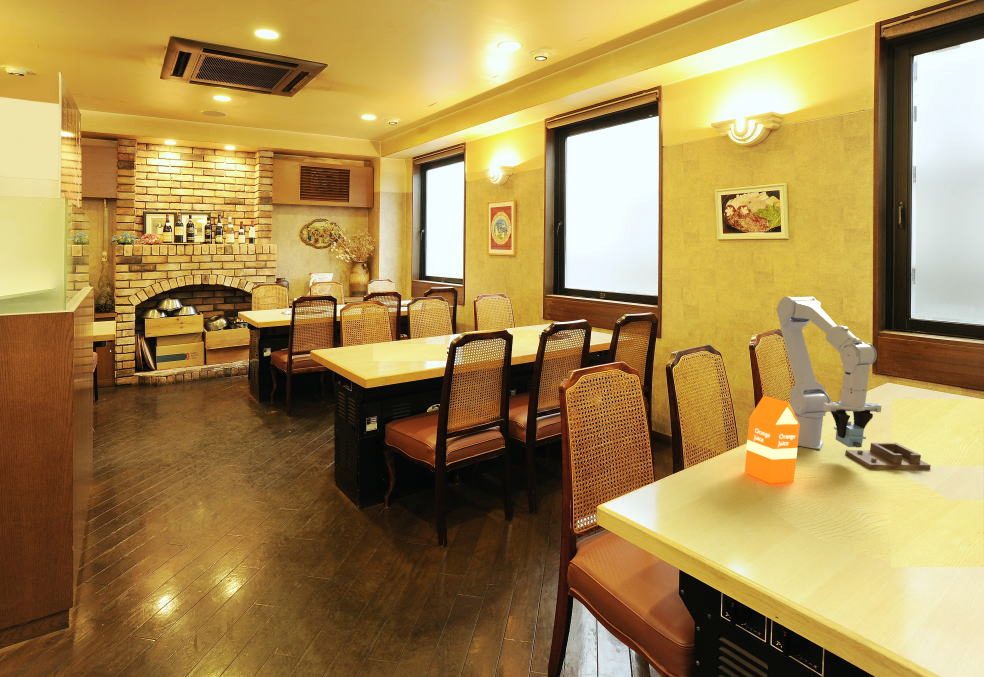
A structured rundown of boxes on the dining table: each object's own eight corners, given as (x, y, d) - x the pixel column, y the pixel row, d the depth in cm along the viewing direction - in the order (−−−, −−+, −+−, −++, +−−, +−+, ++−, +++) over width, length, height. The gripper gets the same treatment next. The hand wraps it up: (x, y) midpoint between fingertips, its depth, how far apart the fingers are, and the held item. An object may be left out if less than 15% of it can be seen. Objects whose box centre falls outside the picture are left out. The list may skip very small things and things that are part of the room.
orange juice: (767, 470, 157) (775, 395, 156) (794, 481, 149) (802, 402, 147) (743, 472, 155) (750, 395, 153) (769, 483, 147) (777, 403, 145)
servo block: (865, 448, 158) (867, 428, 157) (851, 448, 158) (853, 428, 157) (845, 438, 167) (847, 418, 166) (832, 437, 167) (834, 418, 166)
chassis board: (869, 468, 158) (871, 455, 158) (845, 454, 169) (846, 441, 168) (930, 469, 158) (931, 456, 158) (901, 454, 169) (903, 442, 169)
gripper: (836, 391, 156) (830, 441, 159) (891, 392, 156) (885, 442, 159) (821, 385, 163) (816, 433, 165) (874, 385, 163) (868, 433, 166)
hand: (848, 437), depth 163 cm, fingers closed on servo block, 4 cm apart
